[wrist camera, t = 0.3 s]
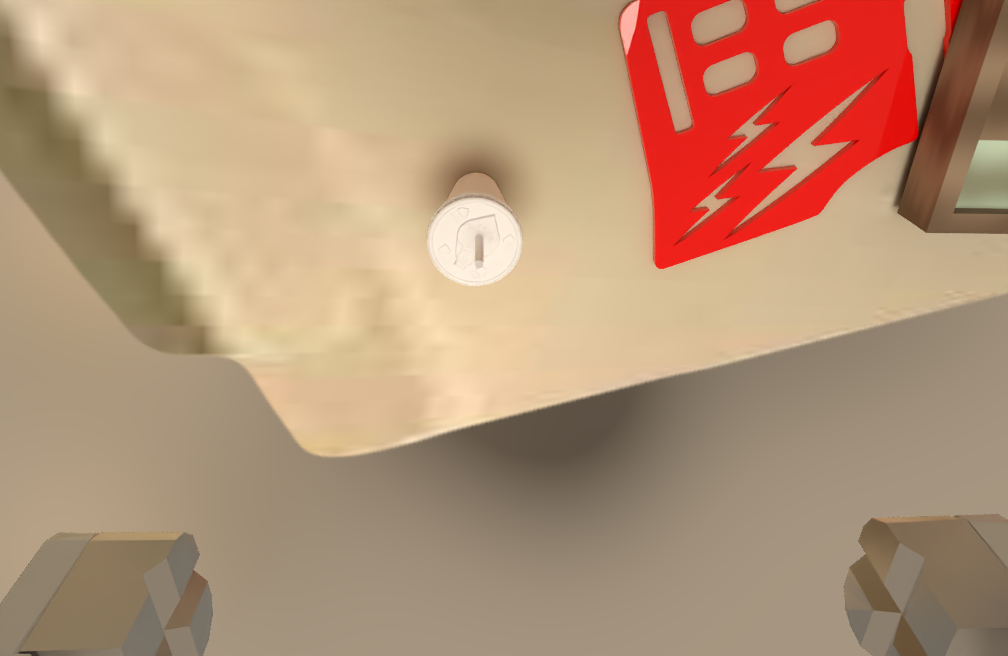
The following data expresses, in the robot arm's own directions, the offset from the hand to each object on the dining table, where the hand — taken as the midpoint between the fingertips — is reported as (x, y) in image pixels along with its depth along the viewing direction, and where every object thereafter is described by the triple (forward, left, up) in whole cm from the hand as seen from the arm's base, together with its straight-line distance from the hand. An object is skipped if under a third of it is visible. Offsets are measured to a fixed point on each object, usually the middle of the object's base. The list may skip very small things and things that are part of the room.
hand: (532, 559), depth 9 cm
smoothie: (+12, -1, -47) cm, 49 cm away
